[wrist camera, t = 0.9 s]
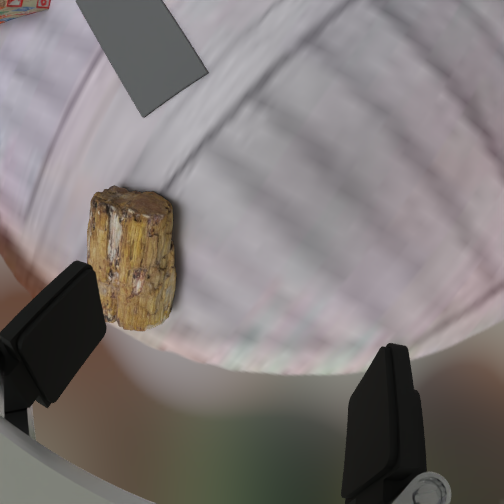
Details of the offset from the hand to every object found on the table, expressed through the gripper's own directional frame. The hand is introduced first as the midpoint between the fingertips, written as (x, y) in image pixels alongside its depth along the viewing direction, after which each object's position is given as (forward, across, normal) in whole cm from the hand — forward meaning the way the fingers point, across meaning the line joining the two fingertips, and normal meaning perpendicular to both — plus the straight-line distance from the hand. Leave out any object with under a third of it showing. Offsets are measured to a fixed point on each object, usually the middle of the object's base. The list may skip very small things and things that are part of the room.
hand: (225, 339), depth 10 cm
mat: (+30, +23, -12) cm, 39 cm away
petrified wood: (+30, +20, +18) cm, 40 cm away
